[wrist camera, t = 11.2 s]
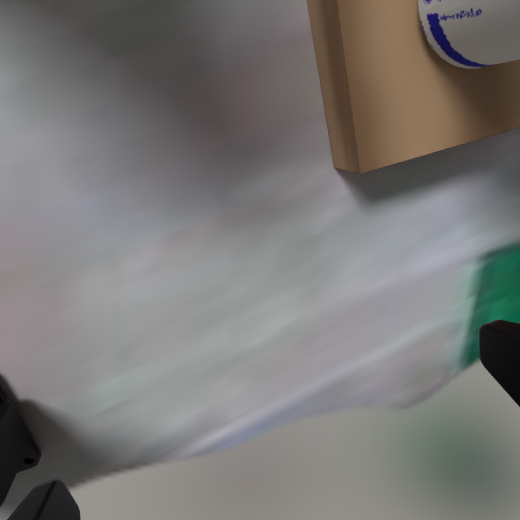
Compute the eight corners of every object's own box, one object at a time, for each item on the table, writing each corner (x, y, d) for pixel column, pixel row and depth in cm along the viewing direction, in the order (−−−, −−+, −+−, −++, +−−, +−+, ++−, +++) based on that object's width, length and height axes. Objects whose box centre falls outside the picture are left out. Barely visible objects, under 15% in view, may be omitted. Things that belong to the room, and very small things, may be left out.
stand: (334, 167, 20) (360, 173, 17) (287, -124, 15) (312, -178, 13) (530, 111, 21) (583, 108, 19) (538, -168, 17) (609, -226, 14)
